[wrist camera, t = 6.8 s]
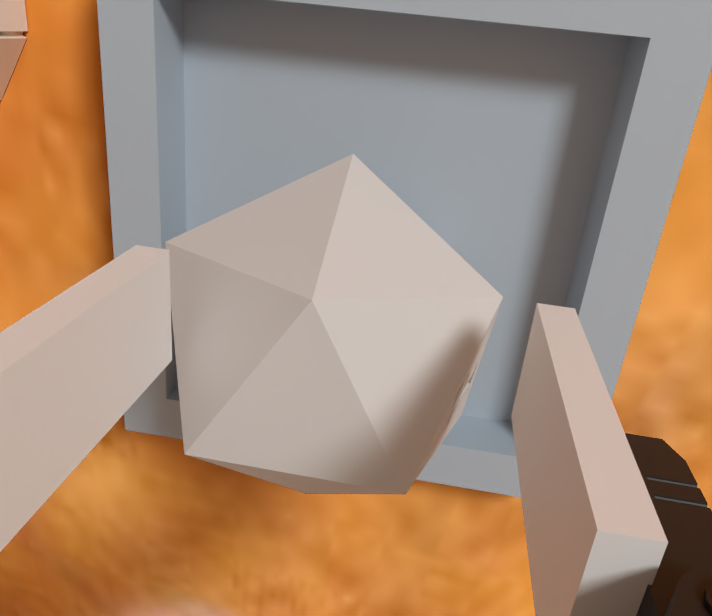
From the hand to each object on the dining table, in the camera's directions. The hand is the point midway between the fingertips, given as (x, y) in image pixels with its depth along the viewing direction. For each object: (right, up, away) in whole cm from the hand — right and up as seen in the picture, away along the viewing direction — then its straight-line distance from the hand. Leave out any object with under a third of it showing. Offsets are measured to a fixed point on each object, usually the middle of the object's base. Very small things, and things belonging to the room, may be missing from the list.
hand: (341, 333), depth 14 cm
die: (0, +4, +5) cm, 7 cm away
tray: (+1, +3, +8) cm, 9 cm away
